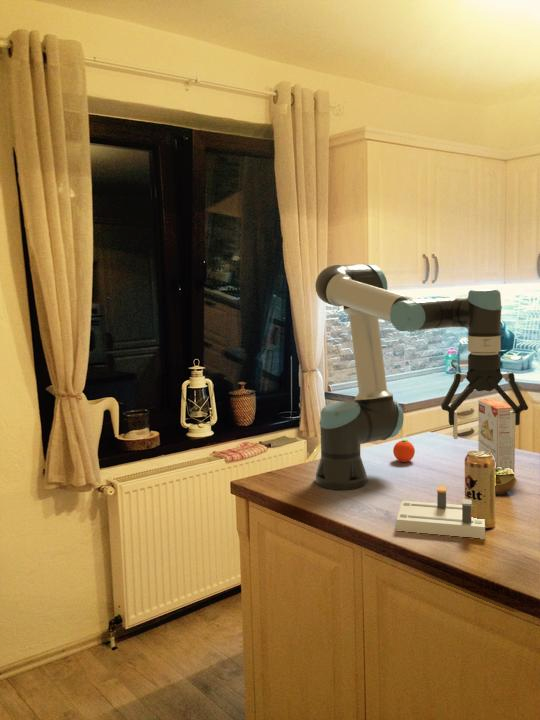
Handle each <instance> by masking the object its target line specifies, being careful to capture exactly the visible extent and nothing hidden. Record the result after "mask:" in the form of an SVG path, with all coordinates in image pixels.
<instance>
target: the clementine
mask: <svg viewBox="0 0 540 720" xmlns="http://www.w3.org/2000/svg"><path fill="white" fill-rule="evenodd" d="M415 450H416V449H415V447H414V445H413V444H412V443H411V442H410V441H408V439H402V440H399V441H398V442H396V443H395V444H394V446H393V449H392V451H393V455H394V456H393V457H395V459H396V460H397V461H400V462H402V463H403V462H404V463H406V462H409V461H411V460H412V459H413V458H414V456H415V452H416V451H415Z"/></svg>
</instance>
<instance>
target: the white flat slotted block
mask: <svg viewBox="0 0 540 720" xmlns="http://www.w3.org/2000/svg"><path fill="white" fill-rule="evenodd" d="M395 522H396V525H395V526H396V532H397V531H405V532H404V533H408V532H417V533H416V534H419V533H429V534H439V535H438V536H440V535H450V536H449V537H451V536H463V537H473V538H480V539H479V540H484V539H485V540H486V523H485V522H486V519H477V518H473V517H471V522H462V504H454V503H453V504H452V503H451V504H450V503H446V508H438V507H437V502H425V501H413V500H401V503H400V506H399V509H398V513H397V517H396V521H395ZM406 531H407V532H406ZM429 534H428V535H429ZM473 538H472V539H473Z"/></svg>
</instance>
